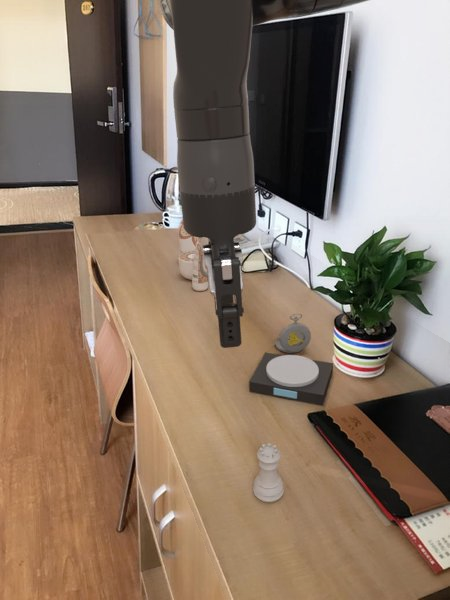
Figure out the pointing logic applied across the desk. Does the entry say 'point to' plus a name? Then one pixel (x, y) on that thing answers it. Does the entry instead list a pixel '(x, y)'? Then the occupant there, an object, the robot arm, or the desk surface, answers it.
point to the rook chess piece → (268, 475)
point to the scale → (292, 378)
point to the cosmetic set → (192, 259)
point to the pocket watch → (293, 337)
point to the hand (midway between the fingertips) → (227, 327)
